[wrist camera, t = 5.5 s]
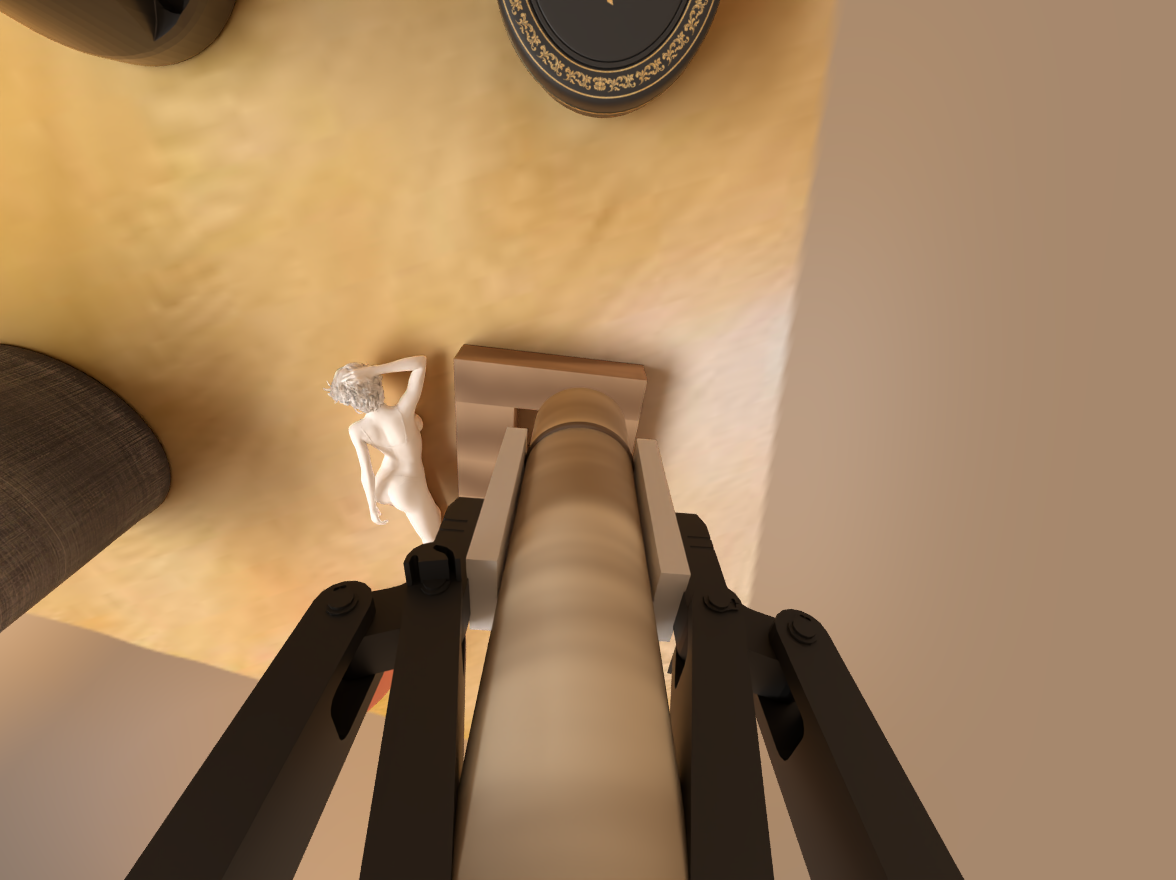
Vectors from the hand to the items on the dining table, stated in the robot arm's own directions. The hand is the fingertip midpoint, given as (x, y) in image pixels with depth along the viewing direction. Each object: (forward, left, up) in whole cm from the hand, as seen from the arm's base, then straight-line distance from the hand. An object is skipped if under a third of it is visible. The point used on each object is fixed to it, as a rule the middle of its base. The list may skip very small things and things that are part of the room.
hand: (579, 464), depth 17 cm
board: (+13, -2, -19) cm, 23 cm away
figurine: (+16, -12, -19) cm, 28 cm away
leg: (0, 0, -3) cm, 3 cm away
